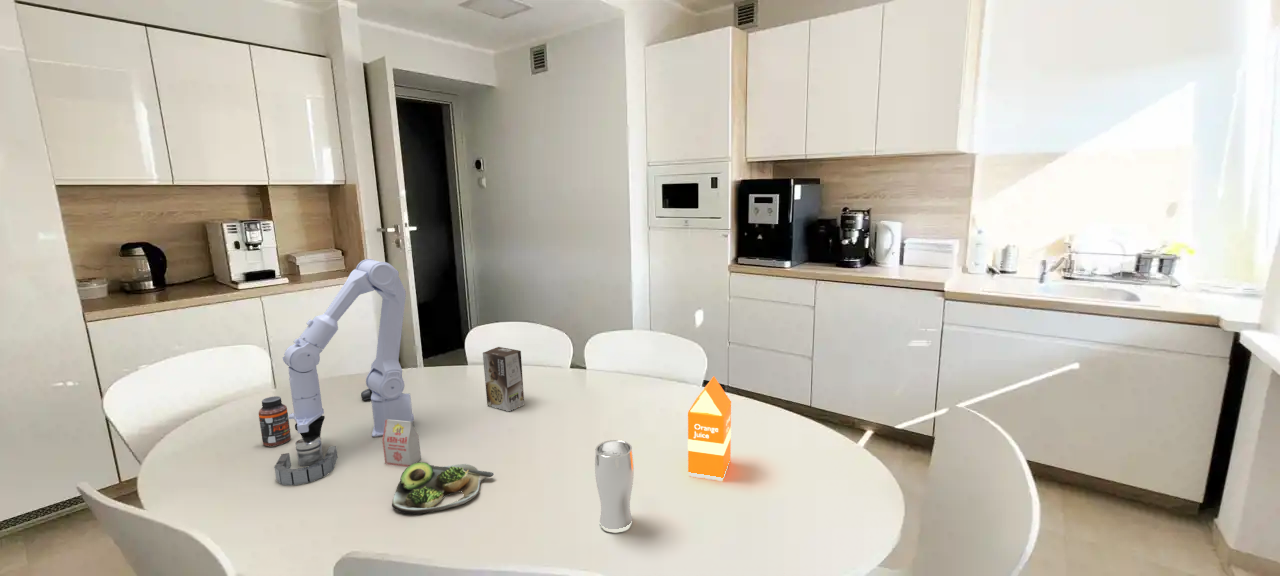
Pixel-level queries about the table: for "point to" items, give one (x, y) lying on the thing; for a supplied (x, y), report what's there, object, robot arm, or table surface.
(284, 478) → the split ring collar
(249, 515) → the table surface
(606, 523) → the beer glass
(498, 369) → the coffee box
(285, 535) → the table surface
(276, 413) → the supplement bottle
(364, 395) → the can opener
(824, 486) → the table surface
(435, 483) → the avocado toast plate
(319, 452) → the cylinder
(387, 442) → the white paper bag
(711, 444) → the orange juice
